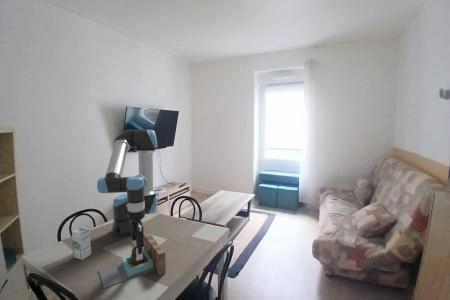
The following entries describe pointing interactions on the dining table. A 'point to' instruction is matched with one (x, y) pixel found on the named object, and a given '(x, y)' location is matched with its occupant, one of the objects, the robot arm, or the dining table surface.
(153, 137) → the robot arm
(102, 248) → the dining table surface
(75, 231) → the syrup box
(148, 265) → the socket frame
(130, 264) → the grey flat plate
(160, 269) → the backstop wall
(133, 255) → the utensil holder
